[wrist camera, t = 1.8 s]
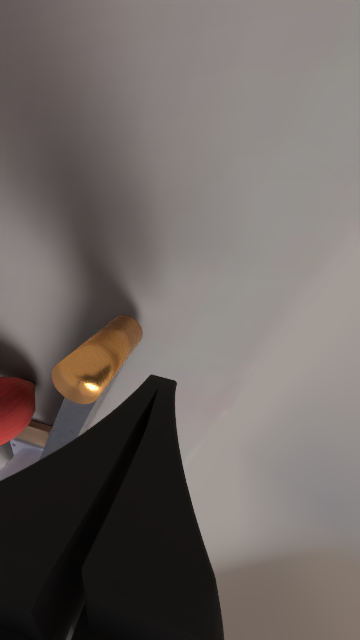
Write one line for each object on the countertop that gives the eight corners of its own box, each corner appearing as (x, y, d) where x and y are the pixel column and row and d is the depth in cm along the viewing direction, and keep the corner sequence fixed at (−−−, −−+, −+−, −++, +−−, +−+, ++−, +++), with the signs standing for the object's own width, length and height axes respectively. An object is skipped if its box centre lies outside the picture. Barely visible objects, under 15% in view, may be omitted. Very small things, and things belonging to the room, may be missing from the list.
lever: (75, 460, 24) (32, 529, 18) (51, 447, 24) (0, 512, 18) (152, 328, 15) (112, 383, 10) (114, 306, 15) (52, 348, 9)
